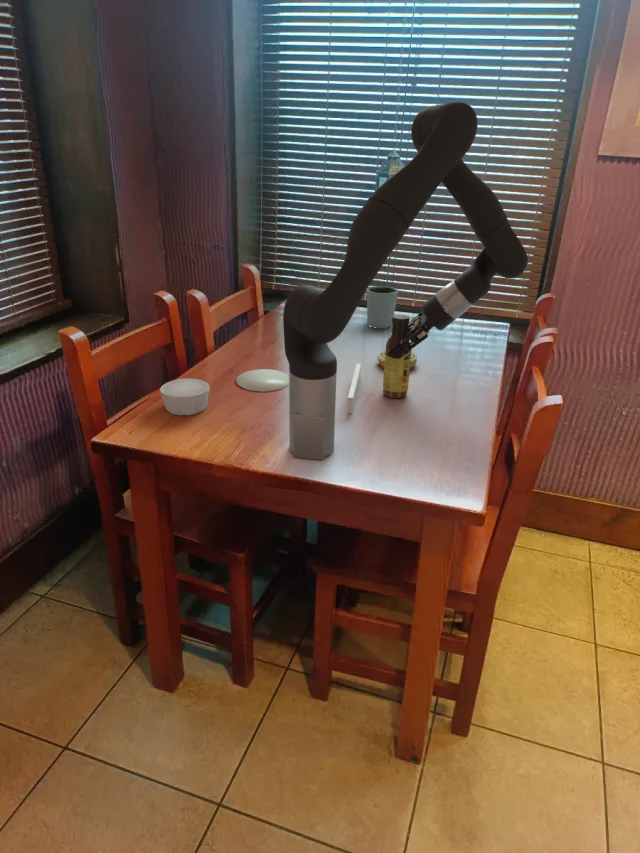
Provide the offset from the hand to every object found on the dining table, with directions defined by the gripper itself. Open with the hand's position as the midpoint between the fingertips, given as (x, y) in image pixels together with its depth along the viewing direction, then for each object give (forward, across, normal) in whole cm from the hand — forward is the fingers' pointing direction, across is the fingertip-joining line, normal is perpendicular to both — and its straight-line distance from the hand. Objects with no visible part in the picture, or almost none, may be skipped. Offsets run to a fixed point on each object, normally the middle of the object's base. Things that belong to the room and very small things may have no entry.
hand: (391, 350), depth 144 cm
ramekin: (+41, +17, -24) cm, 51 cm away
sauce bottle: (+7, 0, +9) cm, 12 cm away
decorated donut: (+7, -20, +9) cm, 23 cm away
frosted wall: (+14, +2, +2) cm, 14 cm away
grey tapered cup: (+12, -56, +4) cm, 57 cm away
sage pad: (+31, -2, -15) cm, 34 cm away
